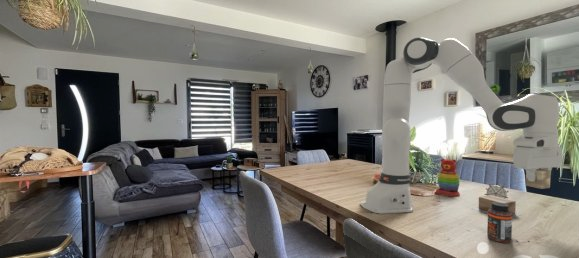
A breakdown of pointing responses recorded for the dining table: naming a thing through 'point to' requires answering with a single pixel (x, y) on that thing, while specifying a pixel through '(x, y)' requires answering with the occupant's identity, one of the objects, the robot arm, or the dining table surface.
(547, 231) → the dining table surface
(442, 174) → the stacking bear
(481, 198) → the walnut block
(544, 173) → the oak block
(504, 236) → the supplement bottle
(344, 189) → the dining table surface
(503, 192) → the game die
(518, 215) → the base plate
